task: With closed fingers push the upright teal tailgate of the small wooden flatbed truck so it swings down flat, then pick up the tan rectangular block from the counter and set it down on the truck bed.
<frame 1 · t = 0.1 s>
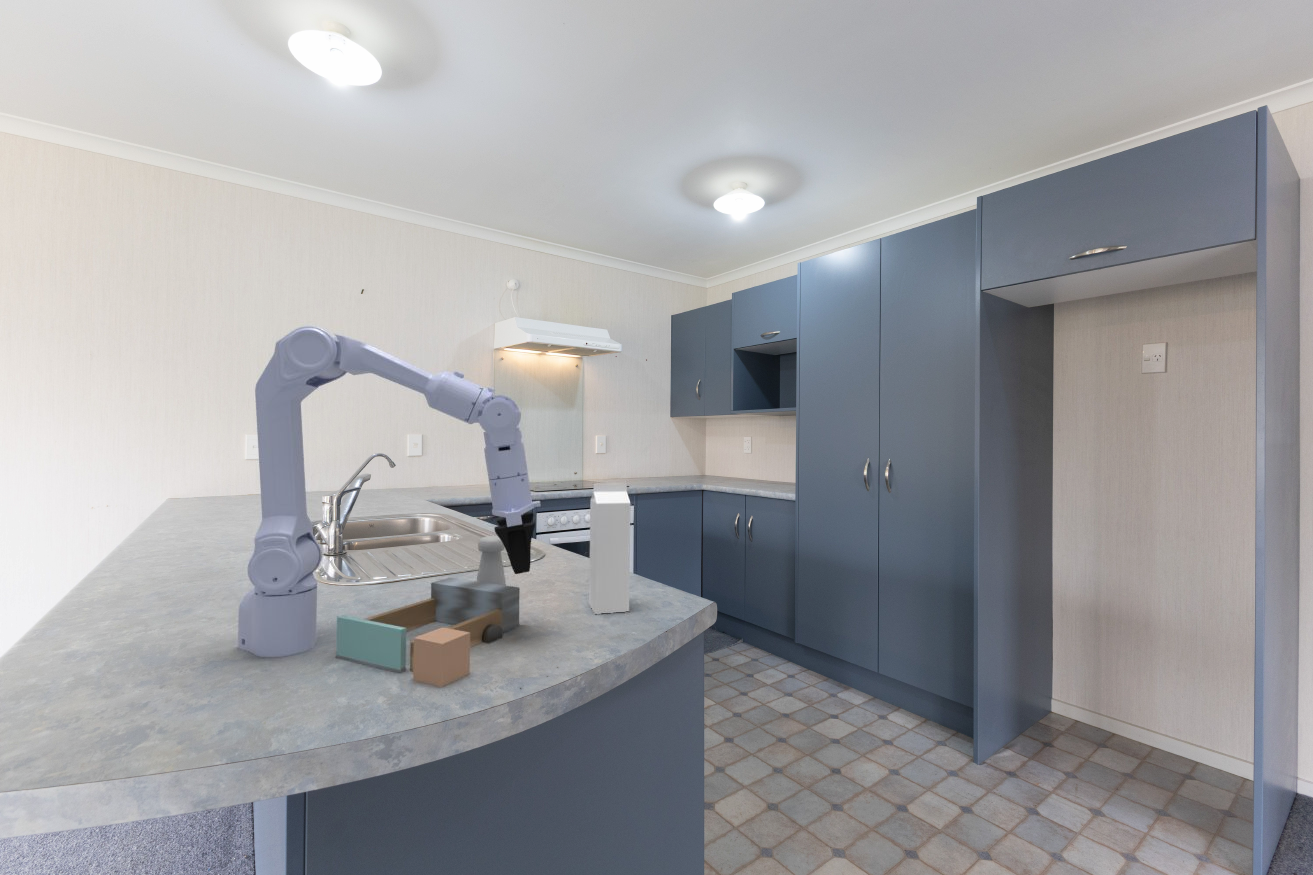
hand: (521, 566, 88), 11 cm above the counter, tool pointing down, fingers open, 7 cm apart
flatbed: (419, 651, 82), on the counter
salt shaker: (490, 615, 100), on the counter
tan rectangular block: (441, 685, 71), on the counter
milk: (608, 609, 104), on the counter
tailgate: (370, 644, 75), point 3 cm above the counter, hinge at 0.0°
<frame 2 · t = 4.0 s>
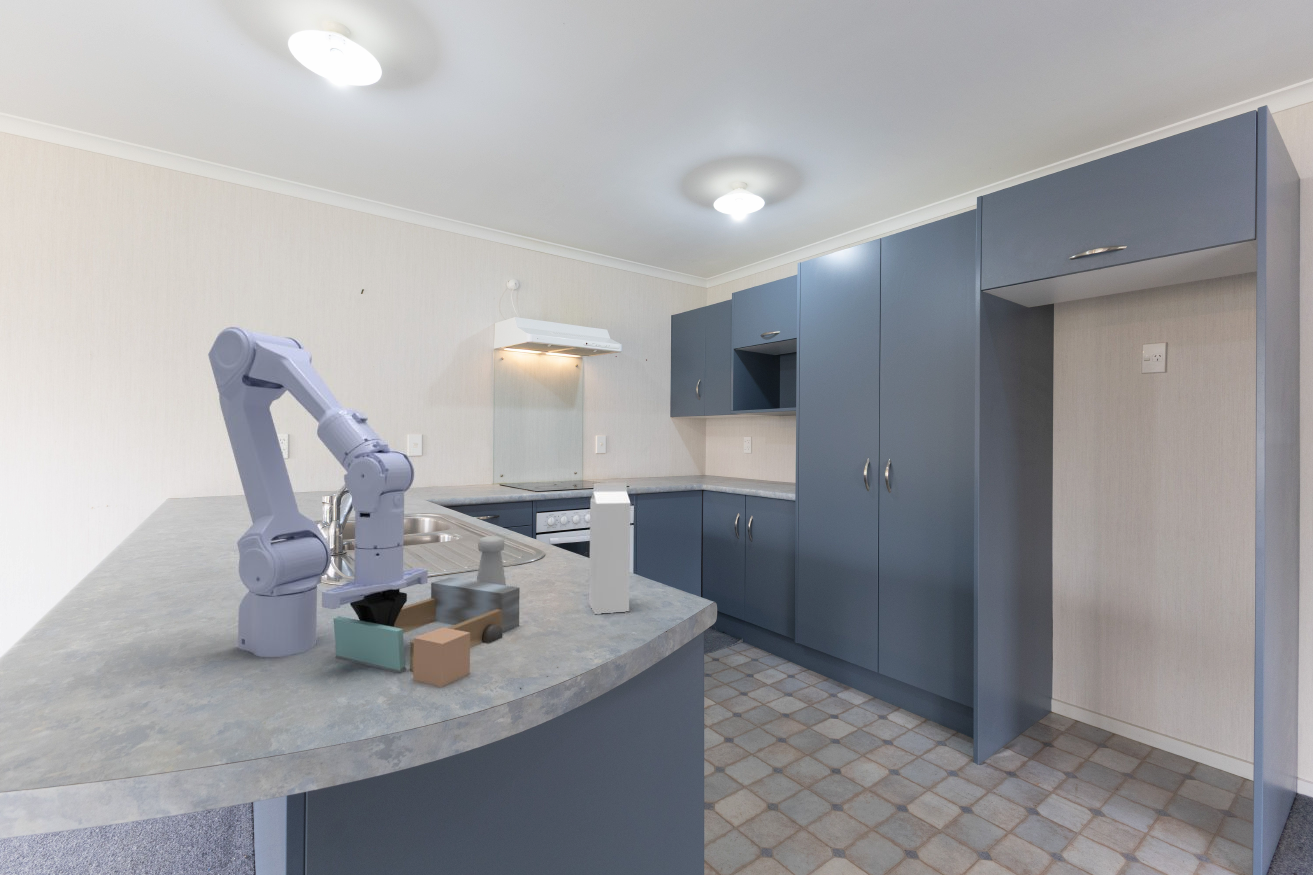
hand: (378, 650, 76), 2 cm above the counter, tool pointing down, fingers closed
tailgate: (368, 645, 75), point 3 cm above the counter, hinge at 5.7°, touching gripper
everything else where it was.
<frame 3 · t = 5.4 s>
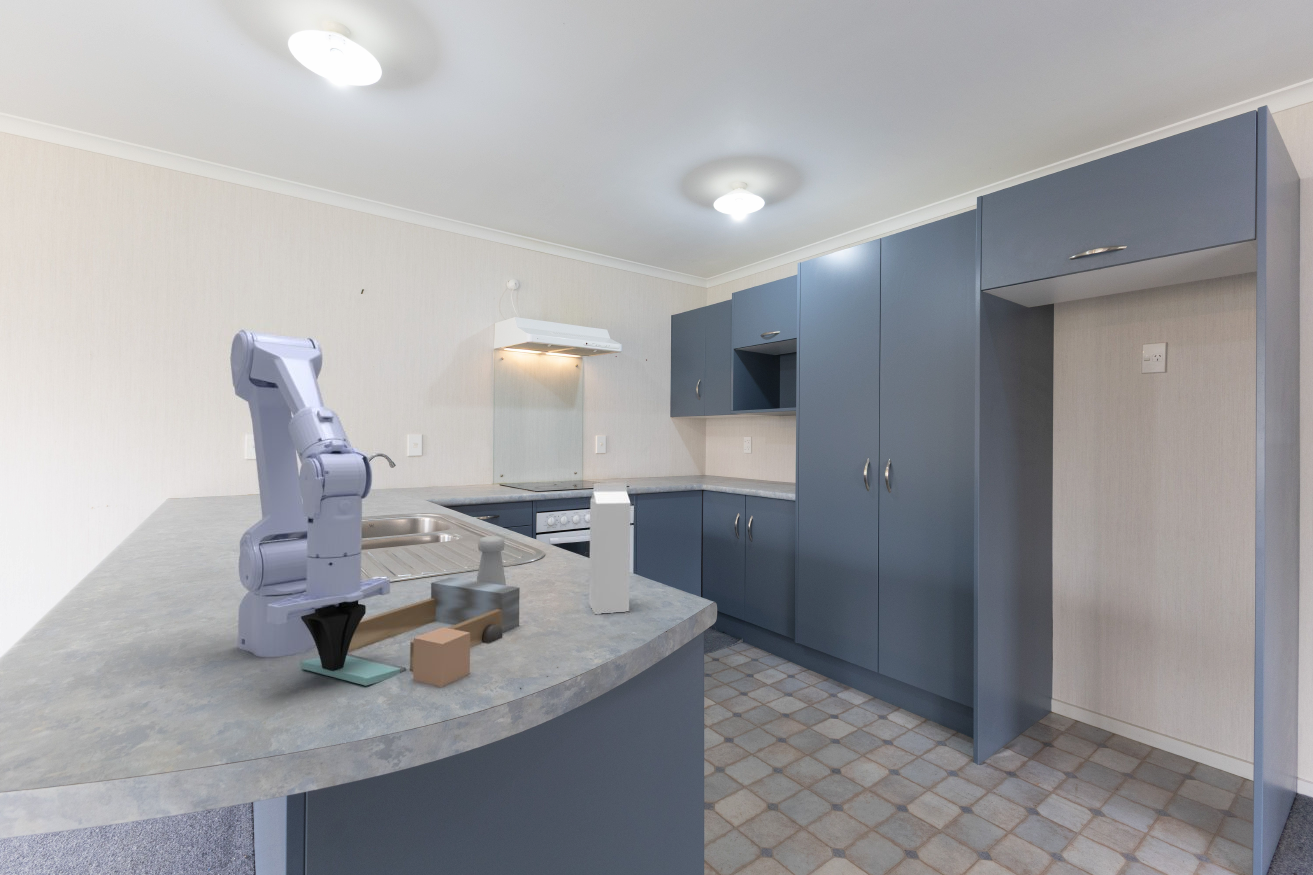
hand: (332, 667, 71), 2 cm above the counter, tool pointing down, fingers closed
tailgate: (353, 667, 73), point 1 cm above the counter, hinge at 83.3°
everything else where it was.
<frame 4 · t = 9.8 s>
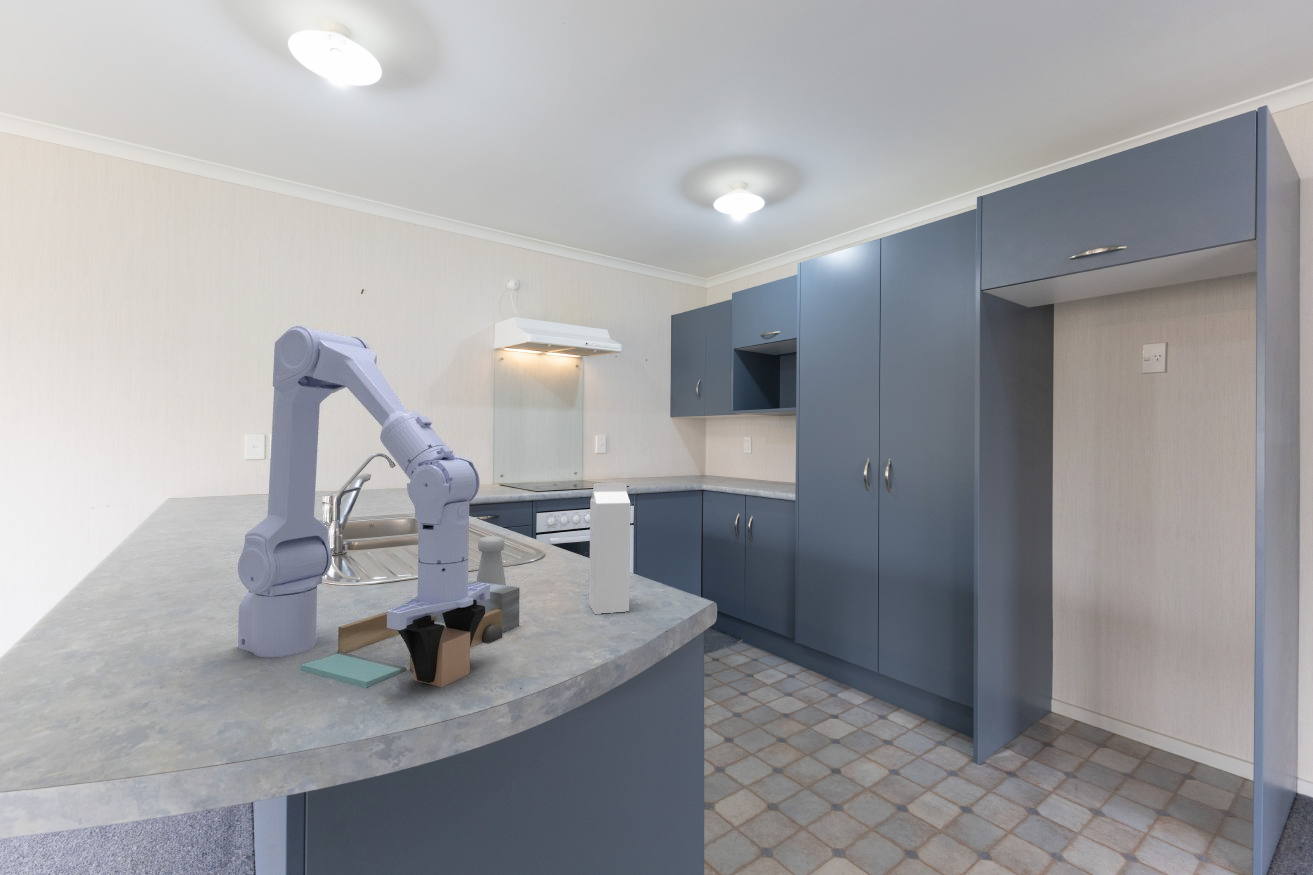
hand: (441, 672, 71), 1 cm above the counter, tool pointing down, fingers closed on tan rectangular block, 4 cm apart
tan rectangular block: (441, 684, 71), on the counter, touching gripper
tailgate: (353, 669, 73), point 1 cm above the counter, hinge at 87.6°
everything else where it was.
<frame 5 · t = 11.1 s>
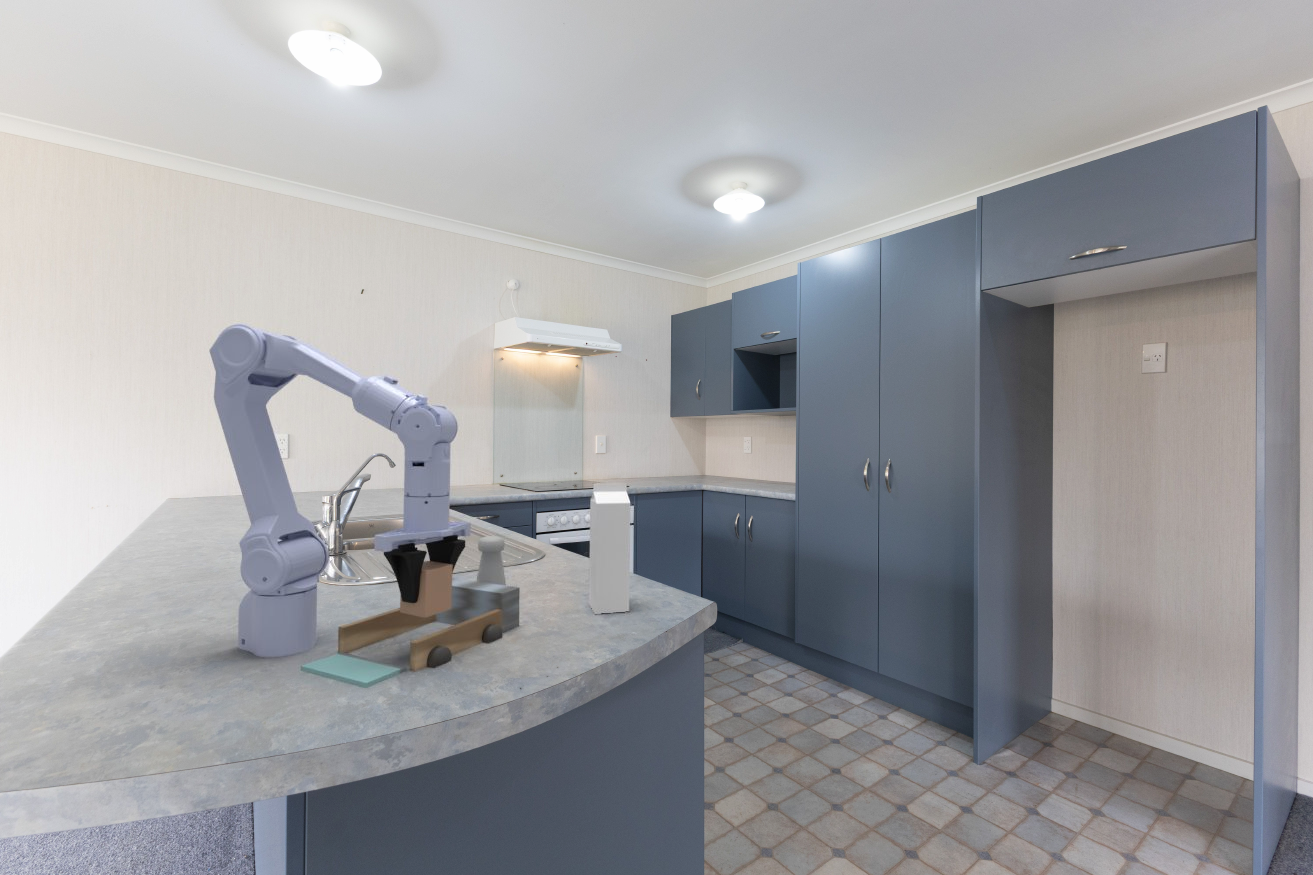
hand: (425, 597, 79), 8 cm above the counter, tool pointing down, fingers closed on tan rectangular block, 4 cm apart
tan rectangular block: (425, 610, 79), point 7 cm above the counter, touching gripper
tailgate: (353, 669, 73), point 1 cm above the counter, hinge at 89.0°
everything else where it was.
when the fingers open (4 cm above the counter, at t = 12.7 s): tan rectangular block drops 1 cm, resting on flatbed.
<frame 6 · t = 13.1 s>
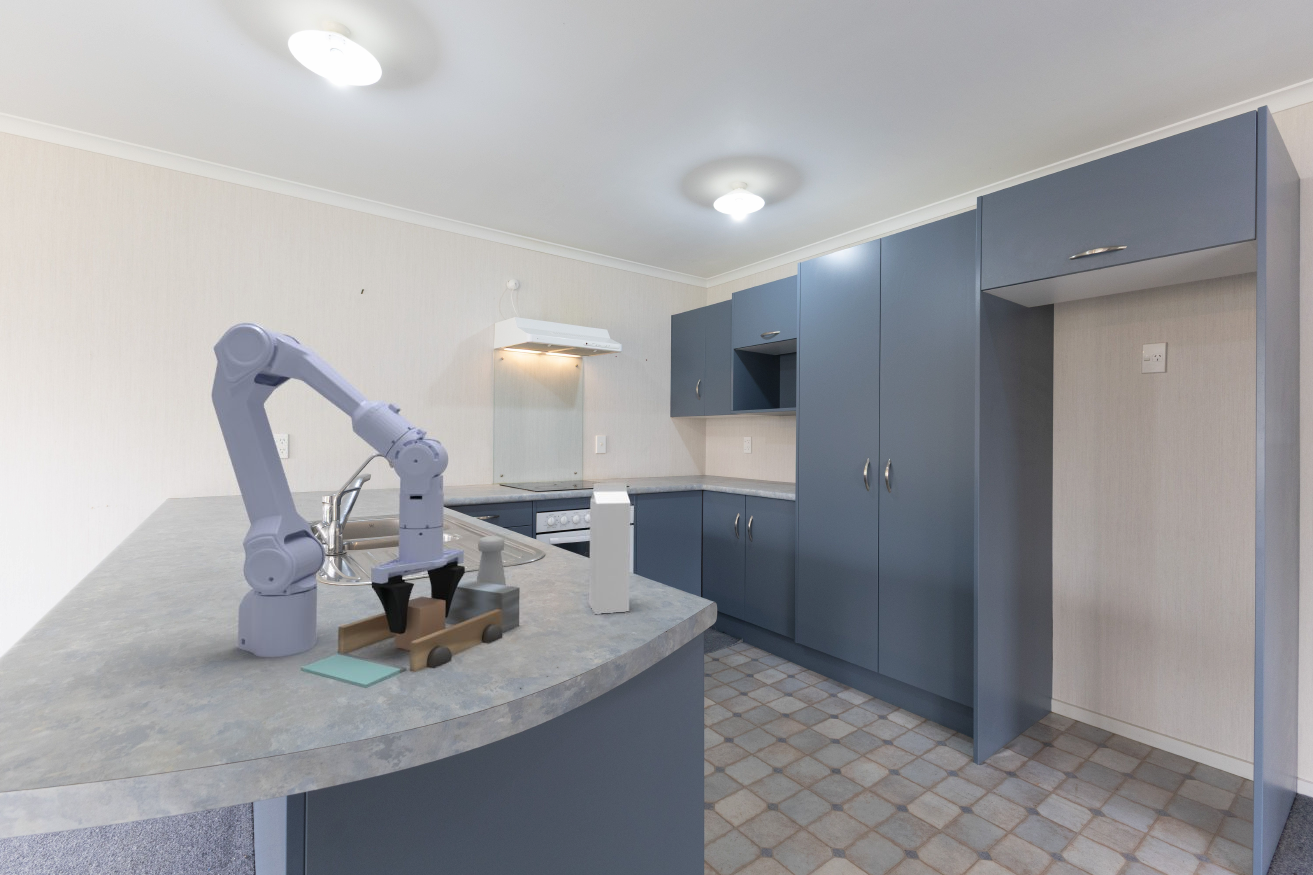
hand: (420, 624, 82), 4 cm above the counter, tool pointing down, fingers open, 7 cm apart
tan rectangular block: (420, 645, 82), point 1 cm above the counter, touching flatbed
tailgate: (353, 670, 73), point 1 cm above the counter, hinge at 91.0°
everything else where it was.
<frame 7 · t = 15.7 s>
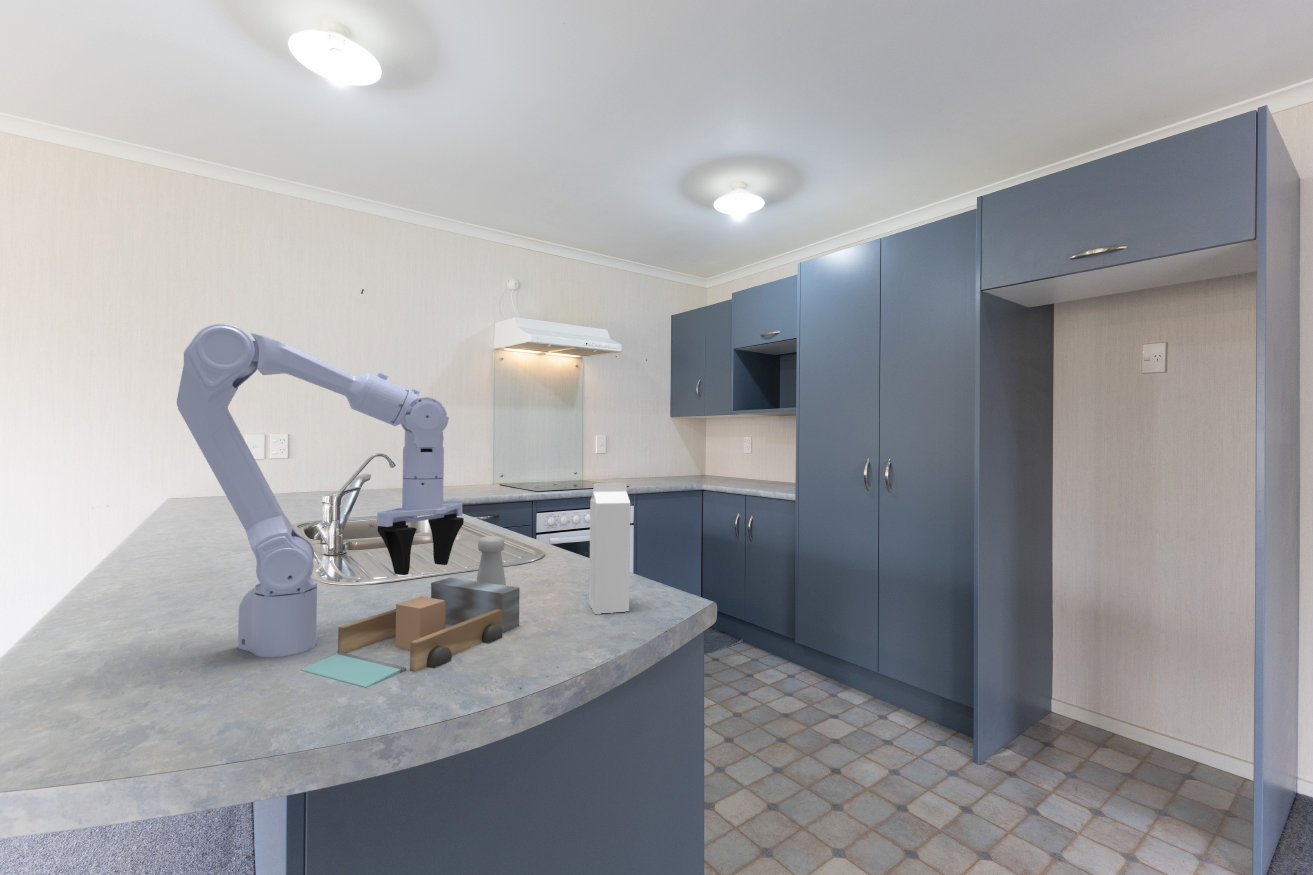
hand: (422, 568, 89), 10 cm above the counter, tool pointing down, fingers open, 7 cm apart
tailgate: (353, 671, 73), point 1 cm above the counter, hinge at 93.6°
everything else where it was.
at the end: tailgate at +94° (first picture: +0°); tan rectangular block inside the target area on the flatbed (0.8 cm from its centre), point 0.8 cm above the flatbed's base; tan rectangular block tilted 0° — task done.
